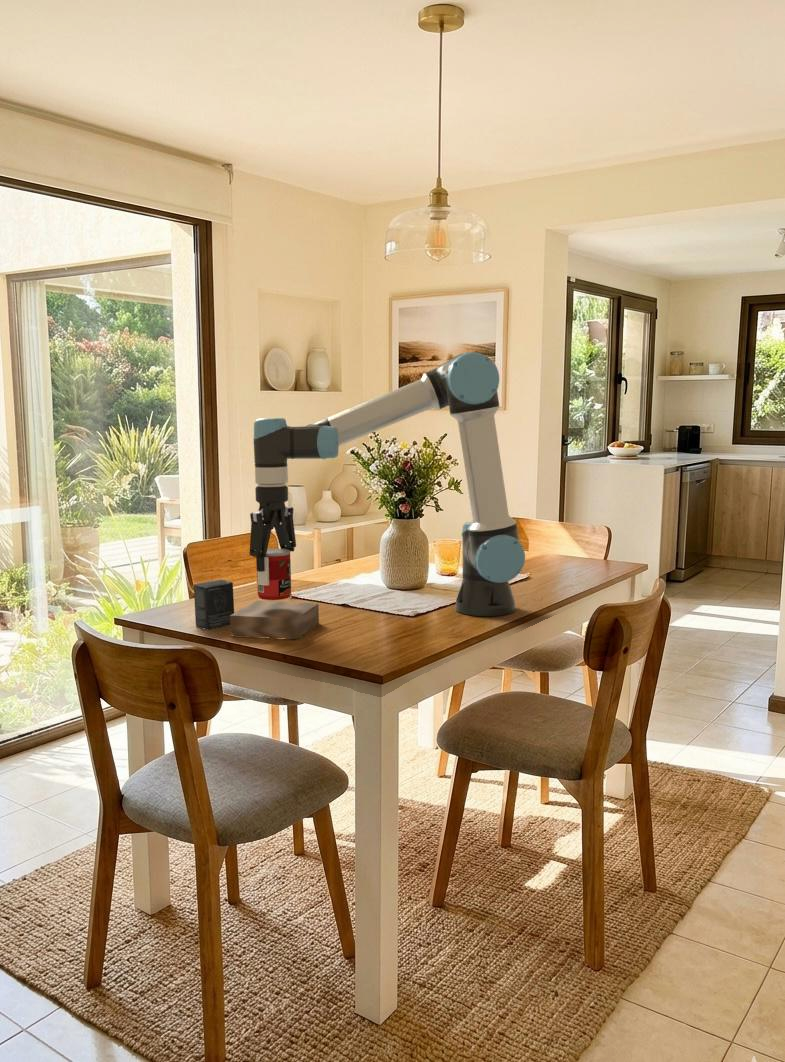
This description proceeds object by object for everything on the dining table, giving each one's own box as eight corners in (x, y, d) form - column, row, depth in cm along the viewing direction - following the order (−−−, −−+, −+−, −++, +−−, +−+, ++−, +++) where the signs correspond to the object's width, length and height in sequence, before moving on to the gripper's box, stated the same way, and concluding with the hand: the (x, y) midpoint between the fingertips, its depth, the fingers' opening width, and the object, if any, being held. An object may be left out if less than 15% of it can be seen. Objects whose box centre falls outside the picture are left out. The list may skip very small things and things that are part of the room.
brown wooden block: (318, 623, 222) (318, 603, 222) (296, 640, 207) (295, 618, 206) (257, 620, 226) (256, 600, 226) (230, 636, 211) (229, 615, 210)
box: (222, 620, 227) (220, 579, 225) (235, 624, 223) (233, 582, 221) (194, 626, 221) (193, 583, 220) (207, 630, 217) (205, 586, 216)
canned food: (285, 600, 211) (284, 553, 210) (252, 599, 213) (251, 553, 211) (295, 594, 219) (294, 548, 217) (263, 593, 220) (262, 548, 219)
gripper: (284, 480, 223) (287, 573, 226) (230, 488, 205) (234, 588, 208) (310, 481, 219) (312, 575, 222) (257, 489, 201) (260, 591, 204)
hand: (274, 581), depth 215 cm, fingers closed on canned food, 8 cm apart
